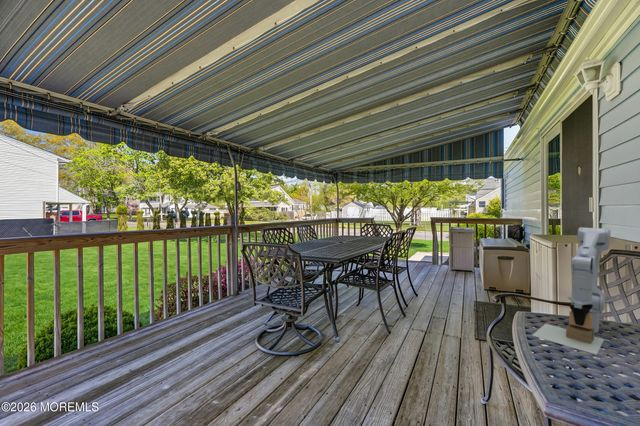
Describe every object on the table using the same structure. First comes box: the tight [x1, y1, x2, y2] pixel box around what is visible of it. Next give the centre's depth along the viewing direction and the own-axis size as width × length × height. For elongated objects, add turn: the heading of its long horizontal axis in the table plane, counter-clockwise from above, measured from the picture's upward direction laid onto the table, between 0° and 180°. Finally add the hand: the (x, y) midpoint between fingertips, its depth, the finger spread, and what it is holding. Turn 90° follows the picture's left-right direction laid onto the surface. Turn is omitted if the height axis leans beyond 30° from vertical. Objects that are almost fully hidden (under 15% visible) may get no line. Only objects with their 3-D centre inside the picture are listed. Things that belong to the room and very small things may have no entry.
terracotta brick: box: [568, 309, 593, 329], centre depth 109 cm, size 4×6×4 cm
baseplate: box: [531, 323, 605, 356], centre depth 110 cm, size 20×18×1 cm
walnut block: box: [565, 323, 595, 344], centre depth 109 cm, size 7×7×4 cm
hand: (580, 323), depth 109 cm, fingers closed on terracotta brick, 4 cm apart
